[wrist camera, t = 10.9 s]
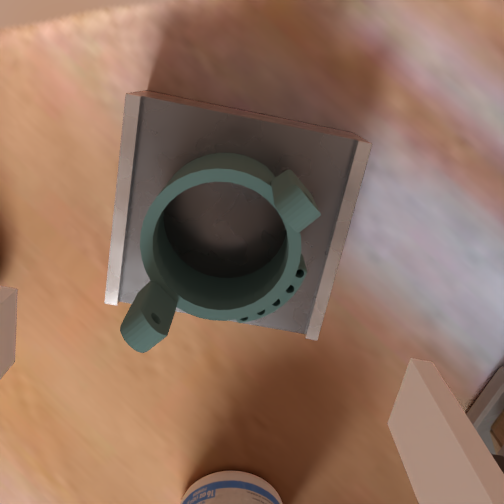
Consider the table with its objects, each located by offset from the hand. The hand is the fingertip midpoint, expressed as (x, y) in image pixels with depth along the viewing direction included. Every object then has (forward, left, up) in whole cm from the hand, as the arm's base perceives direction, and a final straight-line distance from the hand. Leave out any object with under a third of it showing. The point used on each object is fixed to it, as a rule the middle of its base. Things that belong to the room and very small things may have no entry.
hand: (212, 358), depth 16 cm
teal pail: (0, 0, -15) cm, 15 cm away
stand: (0, 0, -20) cm, 20 cm away
